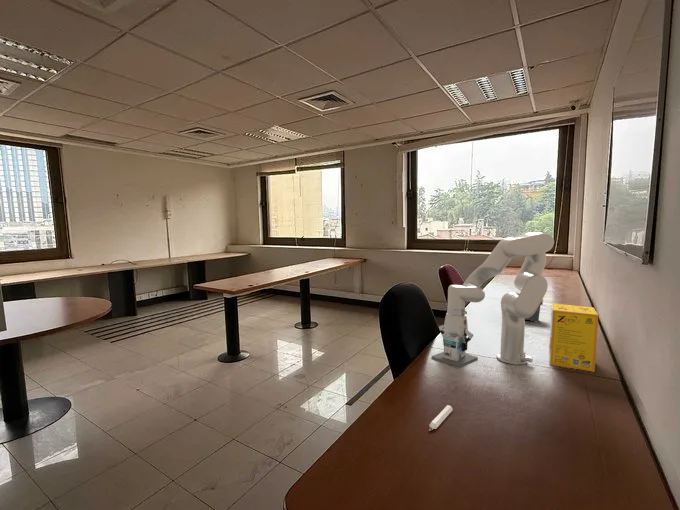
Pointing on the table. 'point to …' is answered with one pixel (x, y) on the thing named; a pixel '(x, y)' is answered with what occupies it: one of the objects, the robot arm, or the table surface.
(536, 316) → the storage bin
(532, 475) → the table surface
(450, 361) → the mat
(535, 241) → the robot arm
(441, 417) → the marker
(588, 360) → the packaging box
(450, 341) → the light bulb box
